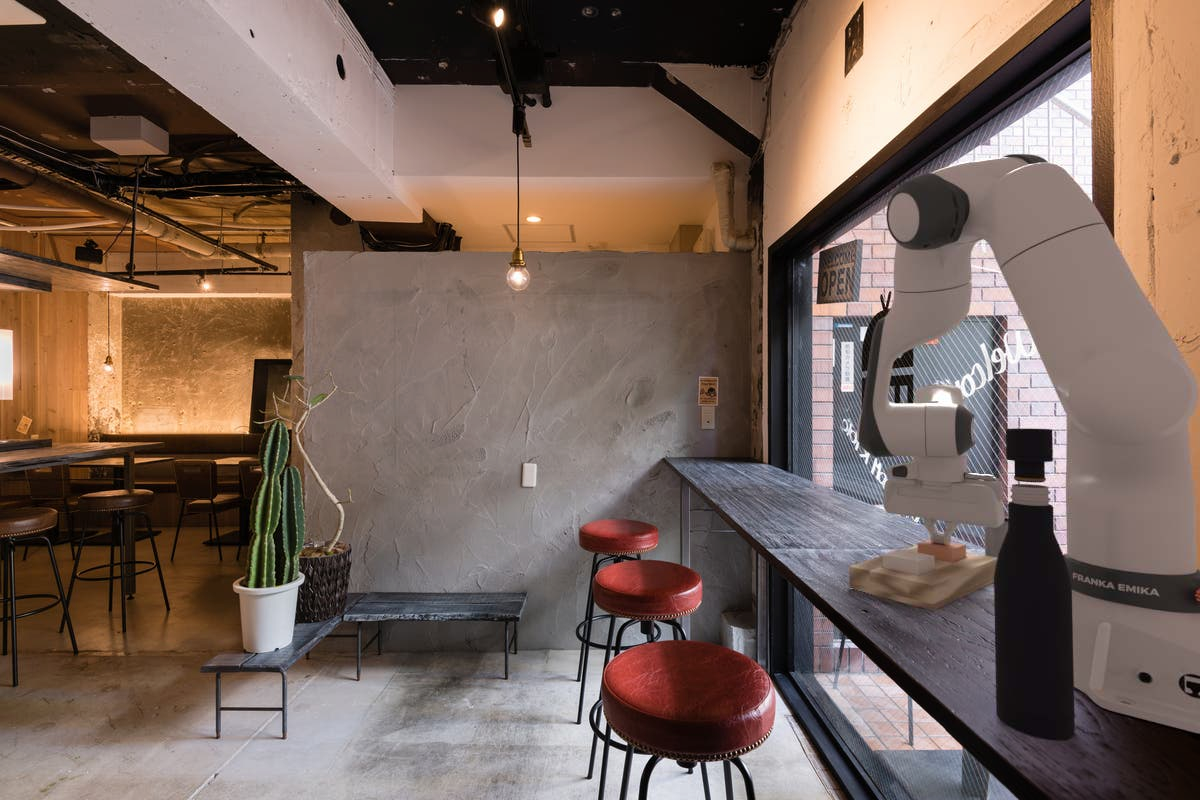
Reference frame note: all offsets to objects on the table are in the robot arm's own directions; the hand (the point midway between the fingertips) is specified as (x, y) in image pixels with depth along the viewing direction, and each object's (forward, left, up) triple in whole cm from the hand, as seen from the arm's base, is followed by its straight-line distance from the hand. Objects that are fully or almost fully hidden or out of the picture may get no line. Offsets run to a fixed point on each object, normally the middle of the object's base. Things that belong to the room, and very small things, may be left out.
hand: (940, 543), depth 109 cm
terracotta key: (0, 0, -4) cm, 4 cm away
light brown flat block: (0, +6, -6) cm, 9 cm away
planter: (-5, -13, -7) cm, 16 cm away
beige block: (0, +13, -4) cm, 14 cm away
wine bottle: (-28, +46, -7) cm, 54 cm away
